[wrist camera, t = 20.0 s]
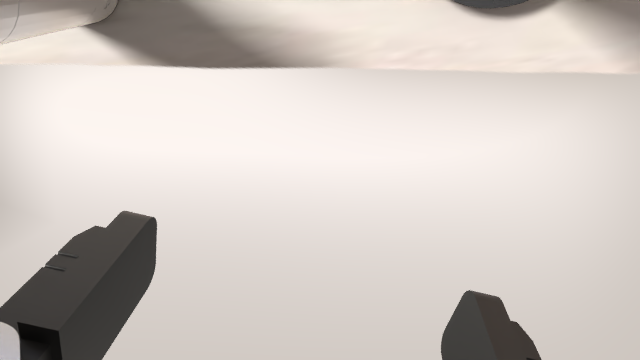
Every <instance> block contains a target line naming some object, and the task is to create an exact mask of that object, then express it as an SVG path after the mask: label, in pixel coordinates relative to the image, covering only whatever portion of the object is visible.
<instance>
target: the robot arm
mask: <svg viewBox="0 0 640 360" xmlns="http://www.w3.org/2000/svg"><path fill="white" fill-rule="evenodd" d="M117 2H118V0H0V44H5V43H9V42H13V41H18V40H22V39H26V38H31V37H35V36H40V35H44V34H48V33H53V32H57V31H61V30H66V29H70V28H75V27H79V26H83V25H87V24H92V23H96V22H100V21H101V20H103V19H105V18H107V17H108V16H109V15H110V14H111V13H112V12H113V10H114V9H115V7H116V5H117ZM156 235H157V222H156V219H155V218H154V217H150V216H146V215H141V214H137V213H132V212H128V211H122V212H121V213H120V214H119V215H118V216H117V217H116V218H115V219H114V220H113V221H112V222H111V223H110V224H109V225H108V226H107V227H106V228H103V227H99V226H94V227H92V228H90V229H88V230H86V231H84V232H82V233H80V234H78V235H76V236H74V237H73V238H72V239H71V240H70V241H69V242H68V243H67V244H66V245H65V246H64V247H63V248H62V249H61V250H60V251H59V252H58V255H54V256H53V257H52V258H51V259H50V260H49V261H48V262H47V263H46V265H45V267H44V268H43V267H42V268H41V269H40V270H39V271H38V272H37V273H36V274H35V275H34V276H33V277H32V278H31V279H30V280H28V282H26V283H25V284H24V285H23V286H22V287H21V288H20V289H19V290H18V291H17V292H16V293H15V294H14V295H13V296H12V297H11V298H10V299H9V300H8V301H7V302H6V303H5V304H4V305H3V306H2V307H1V308H0V360H102V358H103V357H104V355H105V354H106V352H107V351H108V349H109V348H110V346H111V344H112V343H113V341H114V340H115V338H116V337H117V335H118V334H119V332H120V331H121V329H122V327H123V326H124V324H125V323H126V321H127V320H128V318H129V317H130V315H131V314H132V312H133V310H134V309H135V307H136V306H137V304H138V303H139V301H140V300H141V298H142V297H143V295H144V293H145V292H146V290H147V289H148V287H149V285H150V283H151V280H152V277H153V274H154V270H155V264H156ZM441 353H442V360H541V358H540V356H539V353H538V351H537V349H536V347H535V345H534V343H533V341H532V340H531V339H530V337H529V336H528V335H527V334H526V332H525V331H524V330H523V329H522V328H521V327H520V326H519V324H518V323H517V322H513V321H510V319H509V316H508V314H507V312H506V309H505V307H504V304H503V302H502V300H501V299H500V298H499V297H496V296H492V295H488V294H483V293H479V292H474V291H470V290H469V291H466V292H465V293H464V295H463V296H462V298H461V300H460V302H459V304H458V306H457V308H456V309H455V311H454V313H453V315H452V317H451V319H450V321H449V323H448V325H447V326H446V328H445V331H444V333H443V337H442V342H441Z"/></svg>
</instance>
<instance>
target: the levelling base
mask: <svg viewBox="0 0 640 360" xmlns="http://www.w3.org/2000/svg"><path fill="white" fill-rule="evenodd" d="M452 1H455V2H458V3H461V4H464V5H467V6H472V7H478V8H499V7H507V6H511V5H516V4H520V3H523V2H525V1H528V0H452Z"/></svg>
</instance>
